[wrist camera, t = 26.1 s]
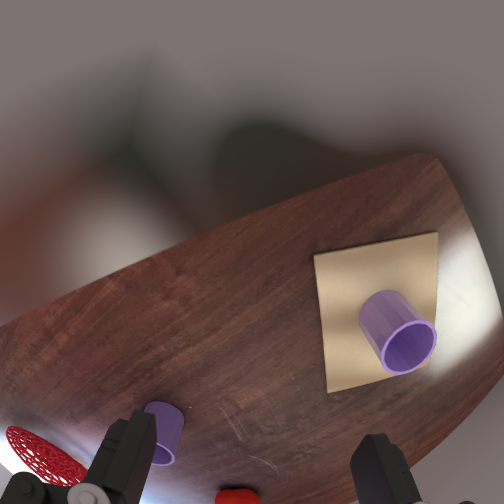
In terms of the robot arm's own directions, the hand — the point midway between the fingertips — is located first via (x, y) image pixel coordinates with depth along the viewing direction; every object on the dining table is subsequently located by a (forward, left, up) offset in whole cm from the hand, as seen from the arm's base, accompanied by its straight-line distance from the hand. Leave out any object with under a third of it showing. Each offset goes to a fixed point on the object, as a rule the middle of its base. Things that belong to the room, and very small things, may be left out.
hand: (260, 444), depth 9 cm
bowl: (+42, -56, -24) cm, 74 cm away
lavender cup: (+10, +14, -24) cm, 29 cm away
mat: (+11, +14, -24) cm, 30 cm away
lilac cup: (+22, -19, -24) cm, 38 cm away
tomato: (+49, -13, -24) cm, 56 cm away
